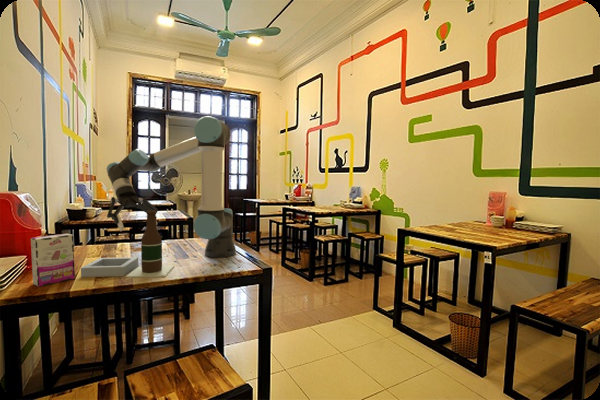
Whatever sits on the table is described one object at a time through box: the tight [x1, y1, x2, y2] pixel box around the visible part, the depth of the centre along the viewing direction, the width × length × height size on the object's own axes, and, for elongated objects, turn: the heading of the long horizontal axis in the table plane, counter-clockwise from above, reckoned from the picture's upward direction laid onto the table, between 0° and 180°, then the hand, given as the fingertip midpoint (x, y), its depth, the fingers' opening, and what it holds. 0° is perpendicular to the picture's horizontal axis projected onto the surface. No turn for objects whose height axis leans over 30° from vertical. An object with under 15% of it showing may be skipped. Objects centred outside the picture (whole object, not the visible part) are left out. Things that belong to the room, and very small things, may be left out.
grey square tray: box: [80, 256, 139, 278], centre depth 125 cm, size 15×15×4 cm
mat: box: [125, 264, 175, 279], centre depth 124 cm, size 14×14×1 cm
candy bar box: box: [30, 233, 76, 287], centre depth 110 cm, size 11×5×16 cm, turn 148°
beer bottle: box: [140, 210, 163, 273], centre depth 124 cm, size 8×8×24 cm
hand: (139, 227), depth 131 cm, fingers open, 13 cm apart
